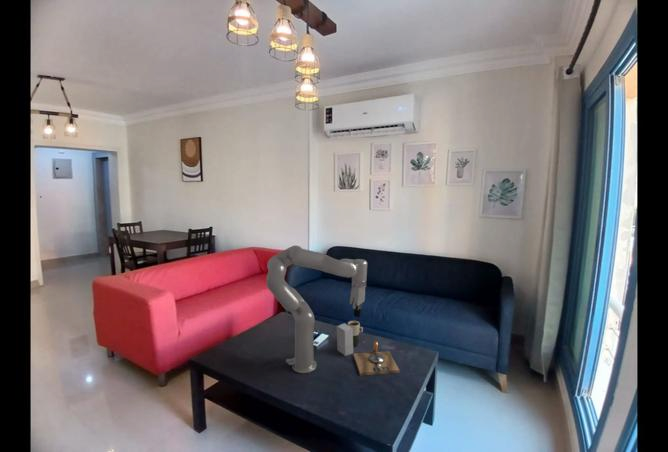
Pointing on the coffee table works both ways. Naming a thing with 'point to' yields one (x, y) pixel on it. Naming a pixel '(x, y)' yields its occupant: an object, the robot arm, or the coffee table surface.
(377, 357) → the cam capstan
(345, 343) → the skincare box
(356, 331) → the character mug
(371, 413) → the coffee table surface
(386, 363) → the stand
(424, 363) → the coffee table surface
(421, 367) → the coffee table surface
